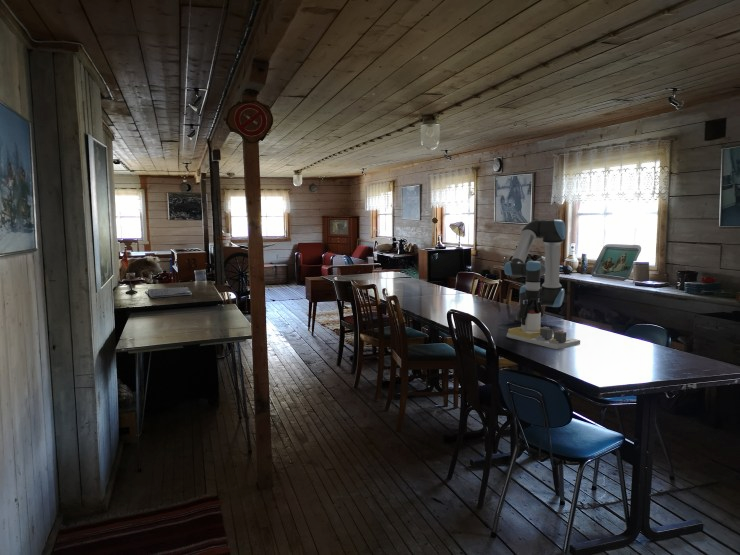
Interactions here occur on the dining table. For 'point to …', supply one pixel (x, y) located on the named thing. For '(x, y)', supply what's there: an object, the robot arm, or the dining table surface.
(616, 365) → the dining table surface
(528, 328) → the cup
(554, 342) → the panel
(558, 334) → the breaker
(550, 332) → the breaker
